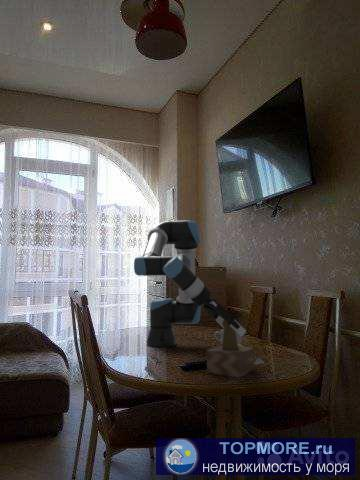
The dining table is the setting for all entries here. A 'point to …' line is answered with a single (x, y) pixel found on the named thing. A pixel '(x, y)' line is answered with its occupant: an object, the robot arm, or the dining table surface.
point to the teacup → (239, 338)
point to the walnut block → (230, 361)
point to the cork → (229, 337)
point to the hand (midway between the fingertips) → (235, 331)
